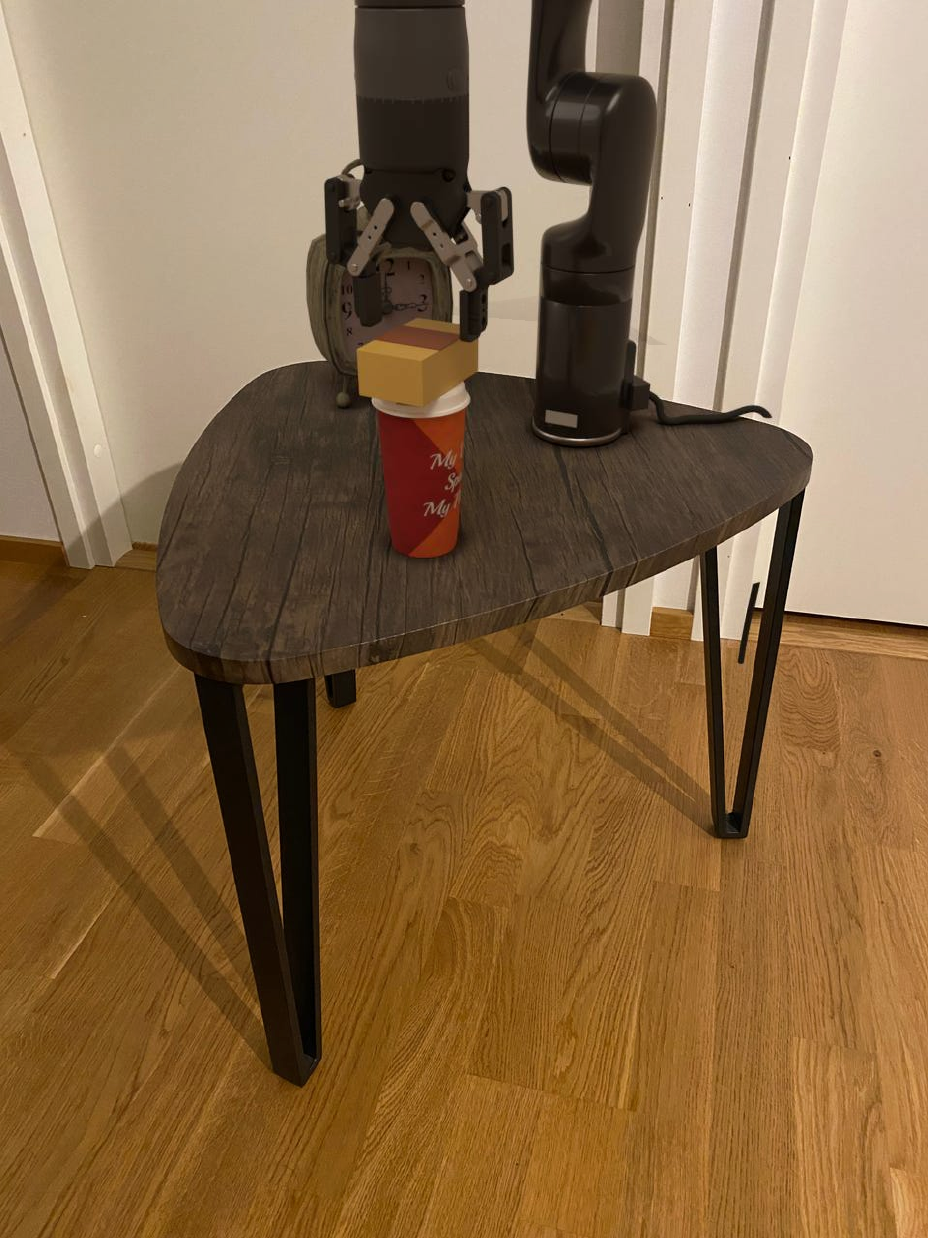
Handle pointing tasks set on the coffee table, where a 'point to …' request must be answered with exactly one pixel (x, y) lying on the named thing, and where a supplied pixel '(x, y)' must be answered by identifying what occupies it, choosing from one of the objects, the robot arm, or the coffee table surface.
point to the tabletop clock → (407, 294)
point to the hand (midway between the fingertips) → (419, 331)
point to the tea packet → (415, 362)
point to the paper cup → (423, 471)
